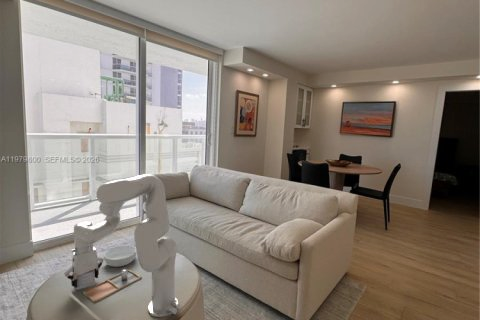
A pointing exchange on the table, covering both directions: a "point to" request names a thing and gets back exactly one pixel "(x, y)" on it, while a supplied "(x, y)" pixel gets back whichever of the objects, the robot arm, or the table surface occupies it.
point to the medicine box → (86, 280)
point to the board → (110, 286)
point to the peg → (124, 275)
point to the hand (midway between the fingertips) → (85, 281)
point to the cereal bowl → (120, 255)
